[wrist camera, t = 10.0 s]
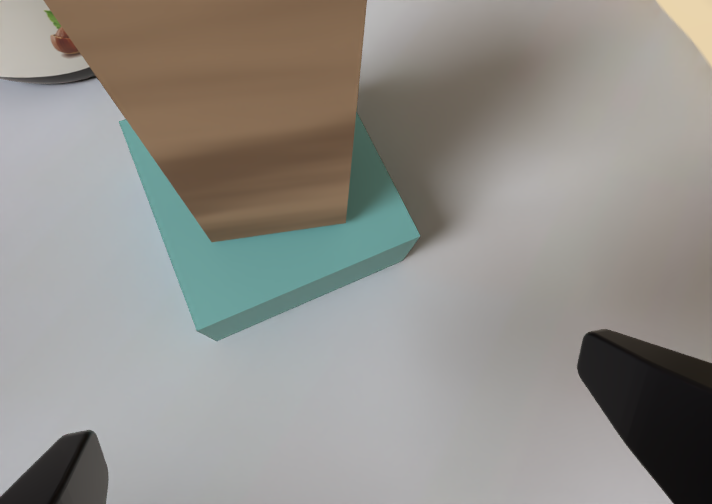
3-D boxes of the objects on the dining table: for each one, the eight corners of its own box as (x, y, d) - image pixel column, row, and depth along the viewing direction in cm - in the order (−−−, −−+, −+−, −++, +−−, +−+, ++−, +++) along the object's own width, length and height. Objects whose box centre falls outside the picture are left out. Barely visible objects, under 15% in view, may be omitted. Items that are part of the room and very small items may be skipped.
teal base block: (401, 262, 22) (420, 235, 18) (218, 341, 20) (196, 330, 16) (324, 108, 24) (327, 55, 20) (151, 167, 22) (118, 121, 18)
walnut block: (345, 223, 18) (387, -217, 5) (211, 242, 17) (-95, -199, 5) (325, 112, 19) (320, -429, 7) (201, 126, 18) (-48, -435, 6)
